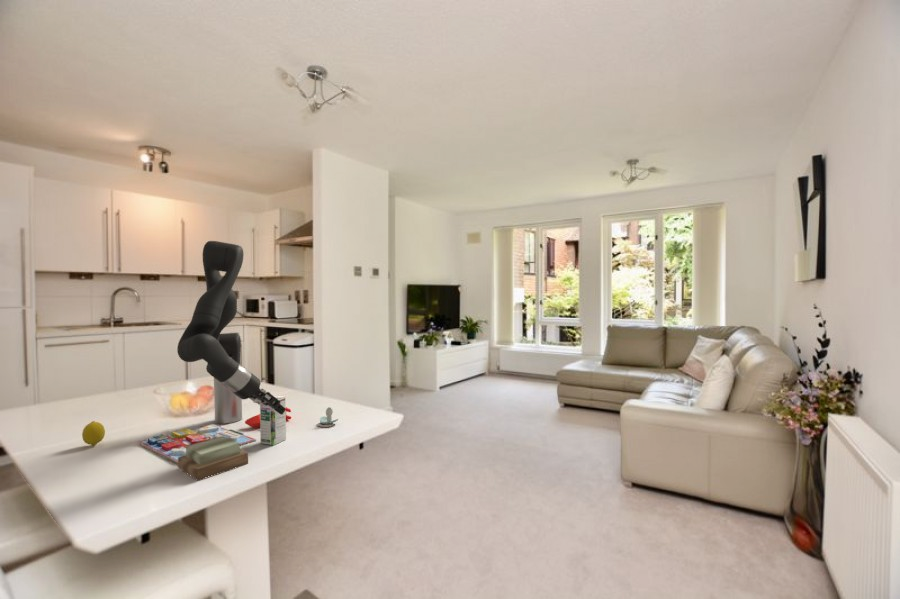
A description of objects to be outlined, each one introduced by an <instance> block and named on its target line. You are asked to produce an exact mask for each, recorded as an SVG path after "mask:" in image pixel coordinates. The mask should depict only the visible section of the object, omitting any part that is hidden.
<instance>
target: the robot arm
mask: <svg viewBox="0 0 900 599" xmlns="http://www.w3.org/2000/svg"><path fill="white" fill-rule="evenodd" d="M243 261H244V249H243V247H242V246H241V245H238V244H235V243H234V244H233V243H228V242H223V241H217V240H208V241H207V242H205V244H204V246H203V249H202V264H203V272H204V277H205V285H206V291H205V292H204V293H203V294H202V295H201V296H200V297H199V298H198V300H197V302H196V305H195V308H194V310H193V312H192V313H193V314H192V316H191V320H190V323H189V324H188V325H187V327H186V328H185V329H184V332H183V333H182V335H181V337H180V339H179V340H178V343H177V350H176V351H177V355H178V357H179V359H180V360H182V361H184V362H186V363H192V362H193V363H194V362H197V361H198V362H199V361H201V360H203V361H205V362H206V363H207V364H206V366H205V367H206V368H205V369H206V372H207V373H208V374H209V375H210V376H211V377H213V393H214V394H213V396H214V400H213V401H214V403H213V404H214V424H215V423H216V424H221V425H222V424H230V423H235V422H238V421H240V420H242V419H243V400H248V399H250V400H251V401H252V402H253V403H255V404H257V405H258V406H260V403H261V404H263V405H265V406H269V407H271V408H272V409H274V410H275V411H277V412H278V413H279V414H283V413H284V412H285V410H286V408H284V407H283V406H282V405H281V404H280V401H279V400H278V399H276V398H275V397H274V396H275V395H273V394H271V392H269V391H267V390H266V389H264V388H260V386H261V383H262V382H261V380H260V378H258V377H257V376H256V375H255V374H253V372H251V371H250V370H249V369H247V368H246V367H245V366H243V365H241V357H242V356H241V354H242V351H241V349H242V339H241V336H240V334H239V333H237V332H232V333H231V332H230V333H222V331H223V330H224V329H225V328H226V327H227V326H228V325H229V324H230V323H231V322H232V321H233V320H234V318H235V317H236V315H237V312H238V300H237V299H238V297H237V295H236V293H235V291H234V290H233V286H234V284H236V281H237V278H238V276H239V273H240V272H241V269H242V266H243ZM221 272H223V273H224V275H223V276H222V275H221ZM264 402H266V403H264ZM273 402H274V403H273ZM272 403H273V404H272Z"/></svg>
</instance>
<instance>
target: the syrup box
mask: <svg viewBox="0 0 900 599" xmlns="http://www.w3.org/2000/svg"><path fill="white" fill-rule="evenodd" d="M273 396H274V397H275V398H276V399H278V400H279V401H280V404H281V405H282V406H283V407H284V408H286V407H287V406H286V401H287V399H286V396H282V395H281V396H279V395H273ZM264 403H266V402H264ZM273 403H274V402H273ZM273 403H272V404H273ZM259 414H260V427H259V428H260V429H259V430H260V438H259V439H260V444H264V445H271V446H276V445H277V444H279V443H282V442H284V441H286V440H287V420H286V415H287V411H286V410H285V412H284V413H283V414H279V413H278V412H277V411H275V410H274V409H272V408H271V407H269V406H265V405H263V404H261V403H260V405H259Z"/></svg>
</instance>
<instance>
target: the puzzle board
mask: <svg viewBox="0 0 900 599" xmlns="http://www.w3.org/2000/svg"><path fill="white" fill-rule="evenodd" d="M222 436H225V437H227V438H229V439H232V440H234V441H236V442H238V443H240V447H242V446H244V445H248V443H249V444H252V443H255V442H256V441H257V439H256V438H253V437H251V436H249V435H246V434H245V433H242V432H239V431H236V430H234V429H228V428H225V427H221V425H218V424H217V423H216V424H215V423H213V424H212V423H211V424H207V425H202V426H198V427H194V428H181V429H177V430H173V431H171V433H169V434H165V435H164V434H162V433H161V434H158V435H154V436H152V437H149V438H147V439H145V440H141V441H138V445H139V444H140V445H139V446H142V447H143V448H145V449H147V450H148V451H151V452H153V453H155V454H156V453H157V454H156V455H158V454H159V455H158V456H160V455H161V457H162V458H164V457H165V458H164V459H166V458H167V459H166V460H168V461H170V462H172V463H174V464H175V465H177V464H178V457H182V456H185V455H186V446H189V445H193V444H196V443H200V442H204V441H207V440H211V439H214V438H218V437H222ZM241 445H242V446H241Z"/></svg>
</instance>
